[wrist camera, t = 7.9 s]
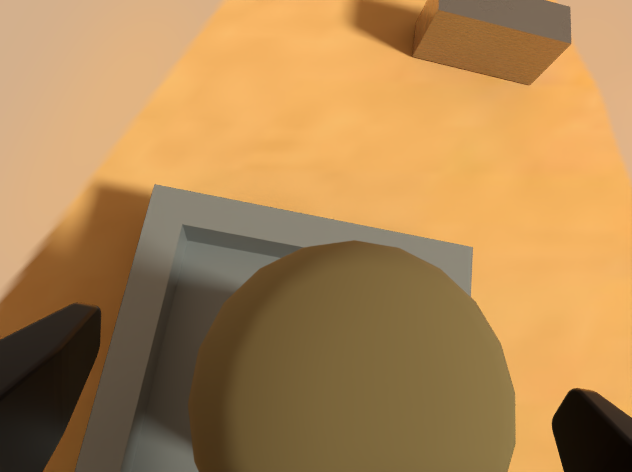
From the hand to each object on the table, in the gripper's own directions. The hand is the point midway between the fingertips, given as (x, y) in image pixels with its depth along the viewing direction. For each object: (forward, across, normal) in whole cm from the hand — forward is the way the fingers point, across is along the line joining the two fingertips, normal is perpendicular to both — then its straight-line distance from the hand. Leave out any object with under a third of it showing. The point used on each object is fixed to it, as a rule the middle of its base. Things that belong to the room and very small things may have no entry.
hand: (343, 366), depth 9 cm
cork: (+6, 0, +6) cm, 9 cm away
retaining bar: (+18, -6, -5) cm, 19 cm away
